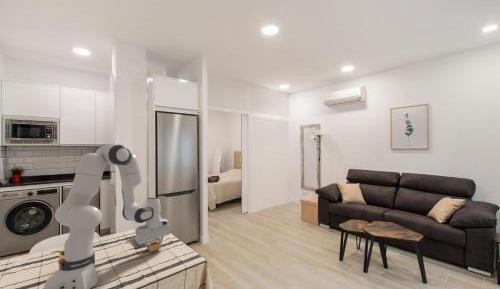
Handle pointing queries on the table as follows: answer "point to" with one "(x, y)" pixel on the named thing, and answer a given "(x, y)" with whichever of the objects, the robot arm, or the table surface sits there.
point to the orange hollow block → (154, 247)
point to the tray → (142, 244)
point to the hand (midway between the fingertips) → (153, 245)
